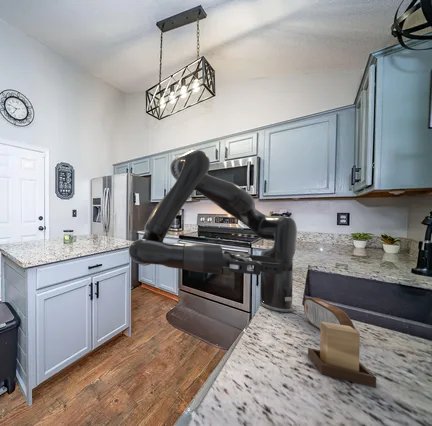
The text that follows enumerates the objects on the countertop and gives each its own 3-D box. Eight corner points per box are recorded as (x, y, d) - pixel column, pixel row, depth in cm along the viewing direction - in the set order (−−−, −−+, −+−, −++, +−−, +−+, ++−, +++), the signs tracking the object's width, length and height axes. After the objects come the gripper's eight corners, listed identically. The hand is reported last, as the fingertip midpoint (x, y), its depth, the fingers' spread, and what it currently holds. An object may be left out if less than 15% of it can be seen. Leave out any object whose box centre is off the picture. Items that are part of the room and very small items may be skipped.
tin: (356, 349, 52) (357, 316, 52) (341, 347, 53) (342, 314, 53) (312, 319, 67) (312, 293, 67) (301, 318, 68) (301, 292, 68)
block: (319, 360, 48) (320, 321, 48) (349, 366, 46) (350, 326, 46) (327, 369, 45) (327, 327, 45) (359, 376, 43) (359, 333, 43)
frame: (307, 355, 50) (307, 347, 50) (354, 366, 47) (355, 357, 47) (321, 374, 44) (321, 364, 44) (376, 387, 41) (376, 377, 41)
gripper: (202, 248, 50) (286, 254, 43) (202, 240, 63) (266, 244, 56) (201, 279, 50) (286, 290, 43) (201, 265, 63) (266, 272, 56)
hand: (275, 264), depth 50 cm, fingers open, 8 cm apart
